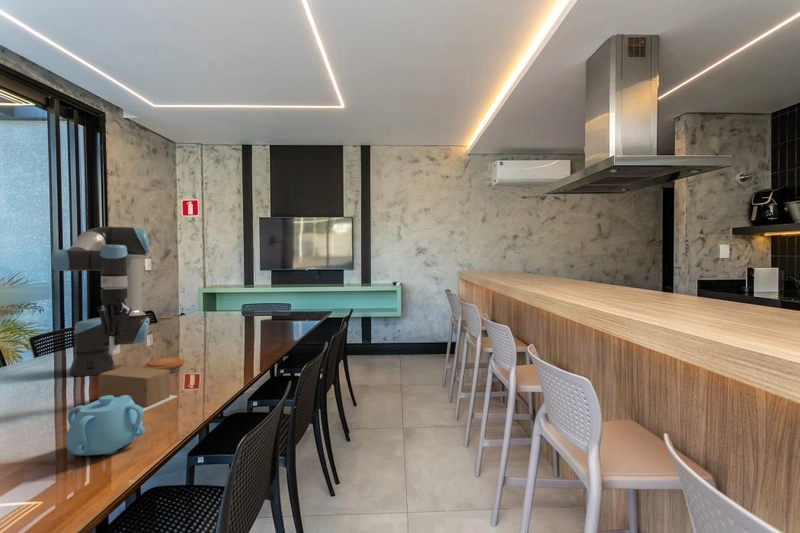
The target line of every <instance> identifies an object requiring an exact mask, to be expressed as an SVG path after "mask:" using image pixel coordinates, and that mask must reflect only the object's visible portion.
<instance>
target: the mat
mask: <svg viewBox="0 0 800 533" xmlns="http://www.w3.org/2000/svg"><path fill="white" fill-rule="evenodd" d="M175 398H178V395H172V394H170V397H168V398H166V399H163V400H161V401H159V402H157V403H155V404H152V405H150V406H148V407H142V406H140V407H142V409H143V413H144V412H147V411H149V410H151V409H153V408H156V407H158V406H160V405H162V404H165V403H168V402H169V401H171V400H174V399H175Z"/></svg>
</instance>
